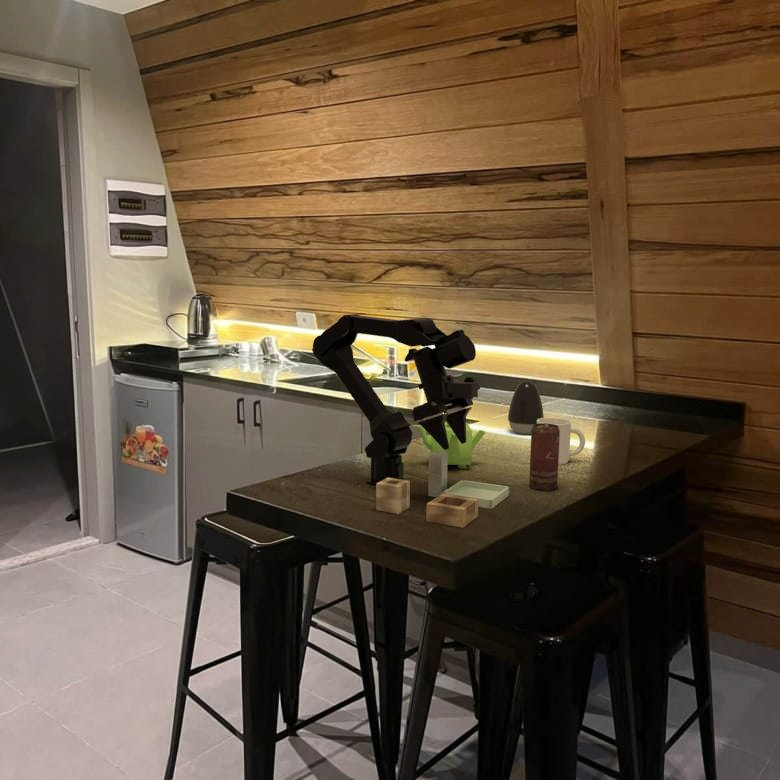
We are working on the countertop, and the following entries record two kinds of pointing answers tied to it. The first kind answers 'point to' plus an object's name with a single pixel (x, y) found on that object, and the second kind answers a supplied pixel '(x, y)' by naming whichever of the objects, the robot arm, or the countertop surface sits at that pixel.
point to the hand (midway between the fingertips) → (455, 446)
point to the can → (544, 456)
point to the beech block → (392, 495)
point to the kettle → (454, 445)
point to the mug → (565, 438)
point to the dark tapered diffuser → (525, 408)
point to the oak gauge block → (452, 510)
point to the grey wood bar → (437, 473)
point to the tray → (480, 492)
